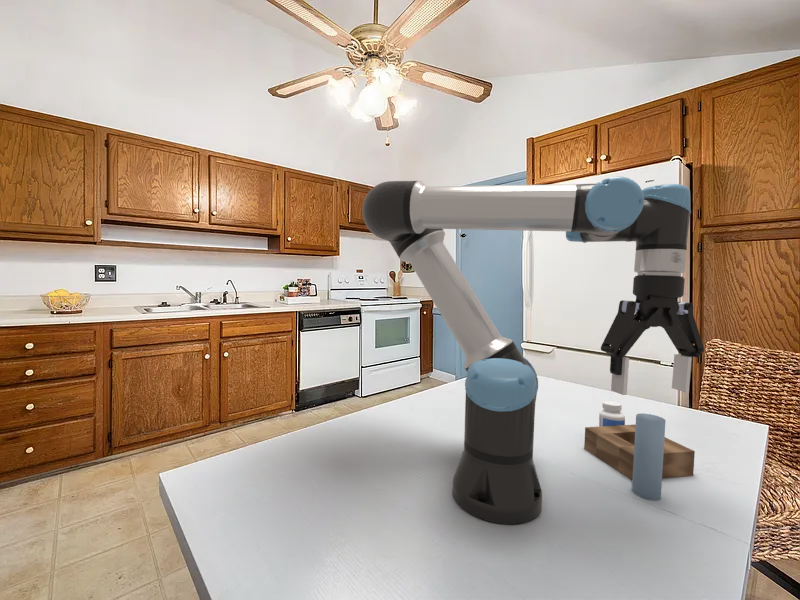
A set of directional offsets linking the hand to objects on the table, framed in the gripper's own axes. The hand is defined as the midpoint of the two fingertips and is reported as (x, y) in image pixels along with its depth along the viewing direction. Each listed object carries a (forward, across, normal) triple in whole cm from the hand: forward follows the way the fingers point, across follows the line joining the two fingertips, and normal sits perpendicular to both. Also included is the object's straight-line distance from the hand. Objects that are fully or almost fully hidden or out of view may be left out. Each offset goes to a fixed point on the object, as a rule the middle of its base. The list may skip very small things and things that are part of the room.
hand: (650, 391), depth 67 cm
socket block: (+18, +8, +10) cm, 23 cm away
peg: (+19, 0, -1) cm, 19 cm away
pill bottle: (+19, +11, +19) cm, 29 cm away
